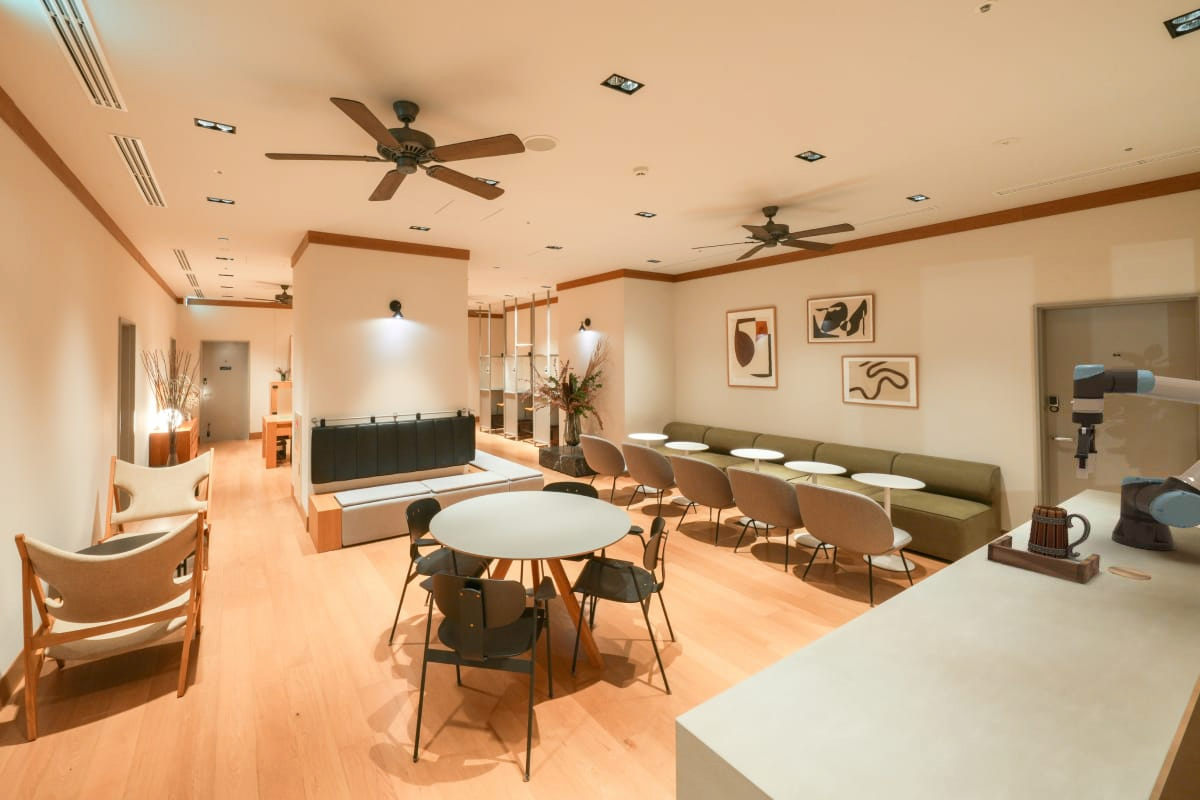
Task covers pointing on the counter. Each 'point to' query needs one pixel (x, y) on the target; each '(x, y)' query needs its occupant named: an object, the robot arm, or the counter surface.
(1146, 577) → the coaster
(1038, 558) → the bay
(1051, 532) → the mug
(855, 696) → the counter surface
